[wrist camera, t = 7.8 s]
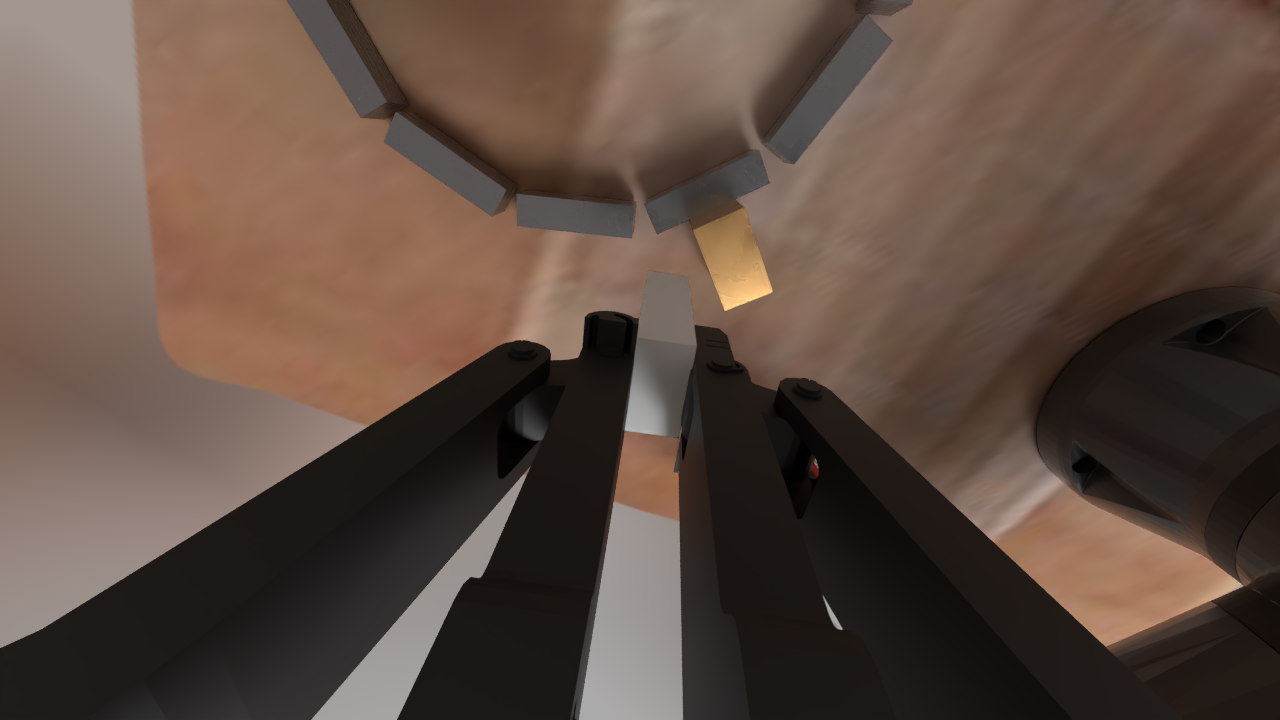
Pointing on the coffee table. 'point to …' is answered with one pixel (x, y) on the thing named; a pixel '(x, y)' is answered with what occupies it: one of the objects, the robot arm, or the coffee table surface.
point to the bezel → (695, 199)
